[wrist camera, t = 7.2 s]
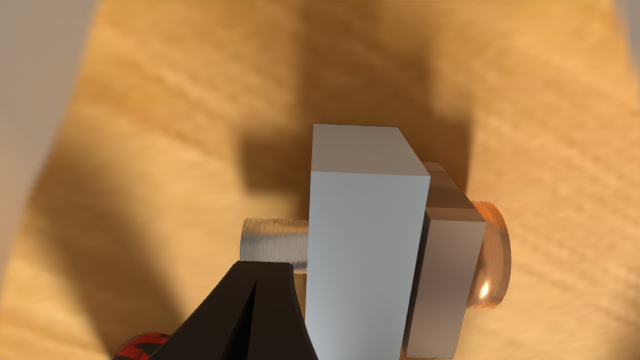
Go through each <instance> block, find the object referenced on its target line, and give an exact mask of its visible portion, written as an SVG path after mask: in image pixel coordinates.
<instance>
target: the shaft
mask: <svg viewBox="0 0 640 360" xmlns="http://www.w3.org/2000/svg"><path fill="white" fill-rule="evenodd" d="M470 202H471V203H472V204H473V205H474V207H475V208H476V209H477V210H478V212H479V213H480V214H481V215H482V217H483V218H484V219H485V220H486V222H487V224H486V228H485V232H484V236H483V240H482V244H481V248H480V252H479V256H478V260H477V264H476V268H475V272H474V276H473V280H472V285H471V289H470V293H469V297H468V301H467V305H466V308H495V307H496V306H498V305H499V304H500V303H501V301H502V300H503V298H504V296H505V294H506V291H507V288H508V284H509V280H510V274H511V247H510V240H509V235H508V231H507V227H506V224H505V222H504V219H503V217H502V215H501V213H500V212H499V210H498V209H497V208H496V207H495V206H494V205H493V204H491V203H490V202H482V201H470ZM308 234H309V221H306V220H280V219H255V218H246V219H245V221H244V223H243V228H242V233H241V242H240V261H263V262H289V263H290V264H291V265H292V266H293V267H294V273H293V274H307V260H308Z"/></svg>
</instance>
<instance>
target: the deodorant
mask: <svg viewBox="0 0 640 360" xmlns="http://www.w3.org/2000/svg"><path fill="white" fill-rule="evenodd" d="M169 337H170V336H169V335H164V334H146V335H141V336H137V337H135V338H132V339H130V340H128V341H127V342H126V343H125V344H123V345H122V346H121V347H120V349H119V350H118V352H117V354H116V355H115V357H114V359H113V360H147V359H148V358H149V357H150V356H151V355H152V354H153V353H154V352H155V351H156V350H157V349H158V348H159V347H160V346H161V345H162V344H163V343H164V342H165V341H166V340H167V339H168V338H169Z"/></svg>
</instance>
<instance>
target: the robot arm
mask: <svg viewBox="0 0 640 360" xmlns="http://www.w3.org/2000/svg"><path fill="white" fill-rule="evenodd" d="M293 273H294V267H293V266H292V265H291V264H290V263H289V262H263V261H237V262H236V263H235V264H233V266H232V267H231V268H230V270H229V271H228V272H227V273H226V275H225V276H224V277H223V278H222V280H221V281H220V282H219V283H218V285H217V286H216V287H215V288H214V289H213V290H212V292H211V293H210V294H209V295H208V296H207V298H206V299H205V300H204V301H203V302H202V303H201V304H200V305H199V306H198V308H197V309H196V310H195V311H194V312H193V313H192V314H191V315H190V316H189V317H188V319H187V320H186V321H185V322H184V323H183V324H182V325H181V326H180V327H179V328H178V329H177V330H176V331H175V332H174V333H173V334H172V335H171V336H170V337H169V338H168V339H167V340H166V341H165V342H164V343H163V344H162V345H161V346H160V347H159V348H158V349H157V350H156V351H155V352H154V353H153V354H152V355H151V356H150V357H149V358H148V359H147V360H319V359H318V357H317V354H316V352H315V349H314V347H313V345H312V342H311V339H310V337H309V334H308V331H307V328H306V325H305V322H304V319H303V316H302V313H301V310H300V306H299V303H298V299H297V295H296V290H295V285H294V277H293Z"/></svg>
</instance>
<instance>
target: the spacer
mask: <svg viewBox="0 0 640 360" xmlns="http://www.w3.org/2000/svg"><path fill="white" fill-rule="evenodd" d="M421 163H422V164H423V166H424V167H425V169H426V170H427V172H428V173H429V175H430V176H431V178H430V184H429V189H428V195H427V201H426V207H425V212H424V218H423V224H422V230H421V236H420V241H419V247H418V253H417V259H416V264H415V270H414V276H413V282H412V287H411V293H410V299H409V305H408V311H407V316H406V322H405V328H404V334H403V339H402V344H403V348H404V352H405V356H406V357H410V358H440V359H453V357H454V353H455V349H456V345H457V341H458V337H459V333H460V329H461V325H462V321H463V317H464V313H465V309H466V305H467V301H468V297H469V293H470V289H471V285H472V280H473V276H474V272H475V268H476V264H477V260H478V256H479V252H480V248H481V244H482V240H483V236H484V232H485V228H486V224H487V222H486V220H485V219H484V218H483V217H482V215H481V214H480V213H479V212H478V210H477V209H476V208H475V207H474V205H473V204H472V203H471V202H470V200H469V199H468V198H467V197H466V195H465V194H464V193H463V192H462V190H461V189H460V188H459V187H458V185H457V184H456V183H455V182H454V180H453V179H452V178H451V177H450V175H449V174H448V173H447V171H446V170H445V169H444V168H443V166H442V165H441V164H440V163H439V162H421Z"/></svg>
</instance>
